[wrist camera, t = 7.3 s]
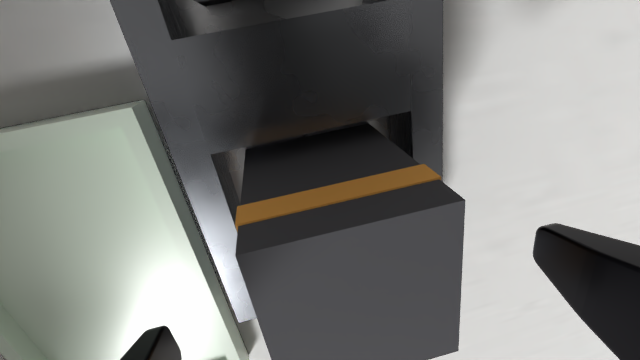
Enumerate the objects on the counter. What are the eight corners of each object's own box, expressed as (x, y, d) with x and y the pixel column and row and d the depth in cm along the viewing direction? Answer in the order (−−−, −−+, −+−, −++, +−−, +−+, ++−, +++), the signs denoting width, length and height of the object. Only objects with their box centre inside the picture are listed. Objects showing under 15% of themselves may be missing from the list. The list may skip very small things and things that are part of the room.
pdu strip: (413, 232, 15) (442, 268, 12) (241, 276, 14) (238, 322, 12) (389, -305, 8) (443, -442, 6) (42, -272, 7) (-57, -415, 5)
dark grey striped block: (369, 121, 12) (468, 197, 6) (379, 226, 14) (460, 351, 8) (243, 148, 11) (231, 254, 6) (273, 252, 13) (284, 402, 8)
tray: (248, 356, 16) (248, 379, 15) (84, 402, 15) (71, 429, 14) (144, 100, 10) (131, 107, 9) (-125, 153, 10) (-172, 168, 9)
